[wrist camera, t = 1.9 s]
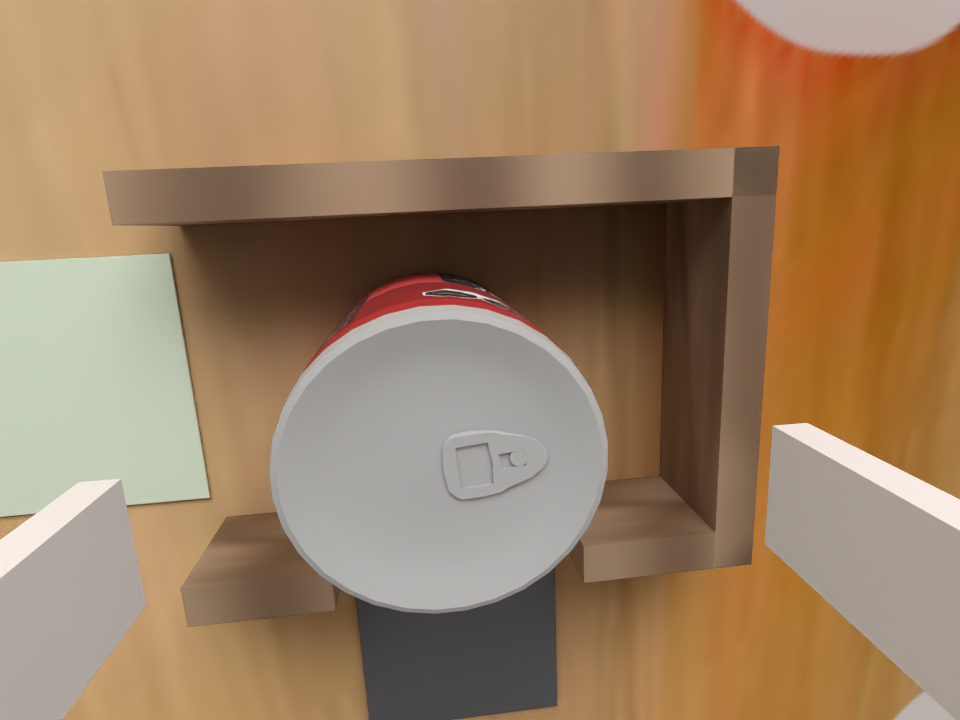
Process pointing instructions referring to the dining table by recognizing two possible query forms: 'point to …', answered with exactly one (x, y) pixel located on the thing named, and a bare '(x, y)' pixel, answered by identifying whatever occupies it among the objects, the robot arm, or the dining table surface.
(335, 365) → the canned food
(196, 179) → the wooden walled channel
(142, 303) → the pad
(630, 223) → the dining table surface
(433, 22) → the dining table surface
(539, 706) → the mat
